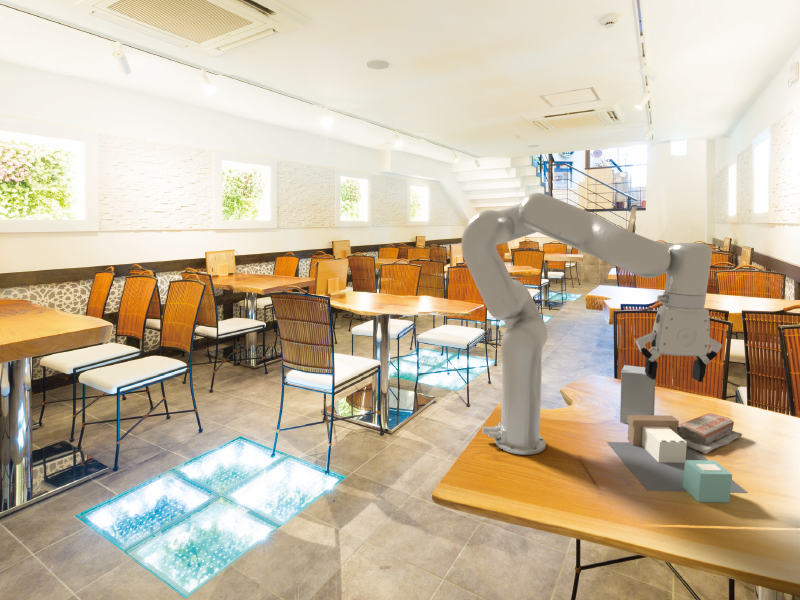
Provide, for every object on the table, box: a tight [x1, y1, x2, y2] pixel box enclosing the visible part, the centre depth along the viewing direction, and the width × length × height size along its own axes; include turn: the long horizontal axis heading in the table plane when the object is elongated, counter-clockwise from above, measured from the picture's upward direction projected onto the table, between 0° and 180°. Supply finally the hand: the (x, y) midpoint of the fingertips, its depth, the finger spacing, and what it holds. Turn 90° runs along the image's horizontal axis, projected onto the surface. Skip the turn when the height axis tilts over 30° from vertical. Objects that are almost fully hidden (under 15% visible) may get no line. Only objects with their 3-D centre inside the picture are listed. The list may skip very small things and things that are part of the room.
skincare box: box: [619, 364, 656, 425], centre depth 128 cm, size 8×7×16 cm
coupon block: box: [627, 414, 687, 463], centre depth 112 cm, size 11×12×7 cm
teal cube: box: [683, 459, 733, 503], centre depth 93 cm, size 6×5×6 cm
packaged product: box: [676, 412, 743, 455], centre depth 118 cm, size 18×5×10 cm
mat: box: [606, 441, 748, 494], centre depth 105 cm, size 20×22×1 cm
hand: (673, 378), depth 100 cm, fingers open, 9 cm apart
